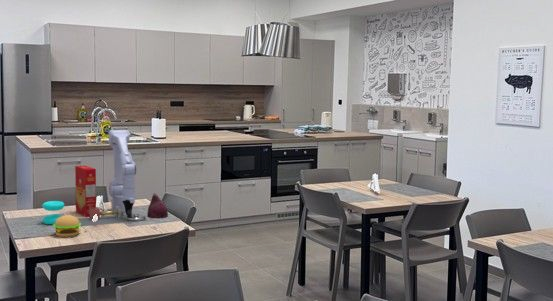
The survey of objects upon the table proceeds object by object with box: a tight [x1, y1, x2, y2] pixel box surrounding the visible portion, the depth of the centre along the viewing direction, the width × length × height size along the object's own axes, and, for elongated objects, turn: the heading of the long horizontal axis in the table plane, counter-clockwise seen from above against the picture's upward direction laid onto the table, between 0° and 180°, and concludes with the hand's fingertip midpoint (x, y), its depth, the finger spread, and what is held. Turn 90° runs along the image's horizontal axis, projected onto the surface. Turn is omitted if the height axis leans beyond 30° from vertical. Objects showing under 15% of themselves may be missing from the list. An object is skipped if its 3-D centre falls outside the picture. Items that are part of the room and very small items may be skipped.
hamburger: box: [52, 214, 81, 238], centre depth 265 cm, size 12×12×9 cm
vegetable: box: [146, 192, 169, 219], centre depth 301 cm, size 10×10×15 cm
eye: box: [114, 205, 123, 219], centre depth 298 cm, size 6×3×6 cm, turn 29°
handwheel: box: [127, 208, 146, 222], centre depth 294 cm, size 9×9×5 cm
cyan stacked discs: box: [41, 200, 65, 226], centre depth 286 cm, size 10×10×10 cm
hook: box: [89, 206, 124, 220], centre depth 295 cm, size 4×16×6 cm, turn 119°
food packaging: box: [74, 165, 97, 218], centre depth 302 cm, size 15×5×25 cm, turn 37°
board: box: [77, 213, 148, 227], centre depth 292 cm, size 17×32×1 cm, turn 119°
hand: (128, 214), depth 294 cm, fingers closed, pressing on handwheel
